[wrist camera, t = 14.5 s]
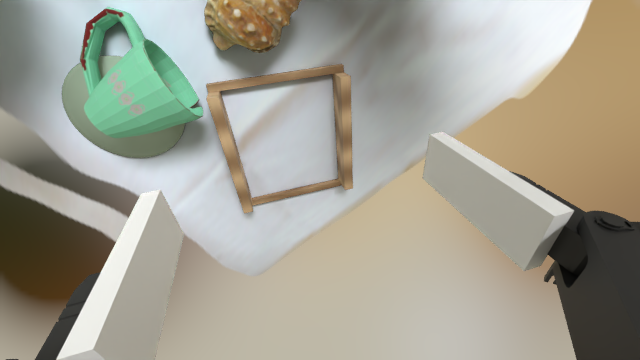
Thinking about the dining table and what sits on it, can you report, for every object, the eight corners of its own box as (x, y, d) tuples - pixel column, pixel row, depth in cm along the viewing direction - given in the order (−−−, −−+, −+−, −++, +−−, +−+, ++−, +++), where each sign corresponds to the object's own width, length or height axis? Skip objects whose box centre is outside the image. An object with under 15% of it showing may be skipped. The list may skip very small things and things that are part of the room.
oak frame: (206, 83, 37) (203, 91, 34) (341, 63, 41) (350, 68, 37) (245, 203, 50) (245, 217, 46) (345, 181, 53) (352, 192, 50)
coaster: (37, 63, 31) (33, 64, 31) (161, 48, 34) (160, 49, 33) (101, 164, 39) (100, 166, 39) (199, 146, 42) (198, 147, 41)
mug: (150, 153, 38) (211, 118, 38) (101, 160, 28) (183, 114, 28) (82, 55, 35) (149, 18, 35) (1, 25, 25) (93, -26, 25)
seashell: (229, -35, 33) (276, -65, 26) (272, 22, 39) (319, 9, 32) (187, 20, 31) (226, 3, 25) (238, 71, 37) (281, 68, 30)
